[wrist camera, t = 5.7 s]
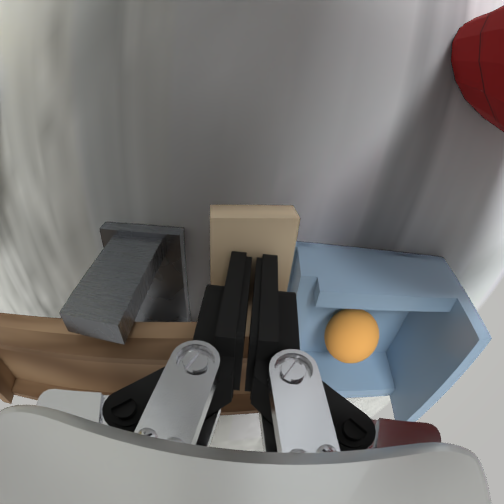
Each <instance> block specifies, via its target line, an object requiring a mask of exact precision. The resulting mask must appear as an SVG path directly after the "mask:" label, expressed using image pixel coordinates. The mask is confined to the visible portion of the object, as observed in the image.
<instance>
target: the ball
mask: <svg viewBox="0 0 504 504" xmlns="http://www.w3.org/2000/svg"><path fill="white" fill-rule="evenodd" d="M324 340H325V345H326V348H327V350H328V351H329V353H330V354H331V355H332V356H333V357H334V358H335V359H337V360H339V361H341V362H344V363H357V362H360V361H363V360H365V359H366V358H368V357H369V356H370V355H371V354H372V353H373V352H374V350H375V349H376V347H377V344H378V341H379V328H378V325H377V322H376V321H375V319H374V318H373V316H372V315H371V314H369V313H368V312H366V311H365V310H362V309H344V310H341V311H339V312H338V313H336V314H335V315H334V316H333V317H332V318H331V319H330V320H329V322H328V324H327V326H326V329H325V333H324Z"/></svg>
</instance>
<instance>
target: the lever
mask: <svg viewBox="0 0 504 504" xmlns="http://www.w3.org/2000/svg"><path fill="white" fill-rule="evenodd" d="M299 223H300V217H299V215H298V214H297V212H296V210H295V208H294V206H293V205H210V284H211V285H219V286H225V282H226V277H227V272H228V267H229V262H230V257H231V252H232V251H236V252H247V255H246V256H247V257H252V264H251V276H250V287H249V299H248V311H247V321H246V331H245V341H244V352H243V362H242V372H241V382H240V391H238V390H234V391H233V398H232V401H231V402H230V403H229V404H227V405H226V406H224V407H223V408H221V413H220V415H235V414H249V413H259V411H258V410H257V409H256V408H255V407H254V406H253V405H251V404H250V403H251V400H250V392H249V391H245V379H246V368H247V356H248V345H249V333H250V321H251V310H252V300H253V290H254V279H255V269H256V259H257V257H259V258H262V256H263V254H269V255H278V291H285V292H287V288H288V283H289V278H290V273H291V267H292V262H293V257H294V251H295V246H296V240H297V234H298V229H299ZM196 324H197V322H134V324H133V326H132V328H131V331H130V333H129V335H128V338H127V340H126V342H125V345H124V344H119V343H115V342H110V341H106V340H101V339H97V338H93V337H88V336H84V335H80V334H76V333H73V332H69V331H68V330H67V328H66V326H65V324H64V322H63V320H62V318H49V317H37V316H26V315H16V314H7V313H0V399H1V400H2V401H4V402H6V403H10V404H11V403H12V399H13V395H18V396H22V397H26V398H30V399H35V400H38V398H39V396H40V395H41V394H42V393H43V392H44V391H46V390H48V389H61V390H71V391H84V392H100V393H102V394H103V395H111V394H112V393H114V392H116V391H118V390H120V389H122V388H124V387H126V386H128V385H130V384H132V383H134V382H136V381H138V380H140V379H141V378H143V377H145V376H147V375H149V374H151V373H153V372H155V371H157V370H159V369H161V368H163V367H165V366H166V364H167V362H168V360H169V358H170V356H171V354H172V352H173V351H174V350H175V348H176V347H177V346H179V345H180V344H182V343H184V342H187V341H192V340H193V336H194V332H195V328H196Z"/></svg>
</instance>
